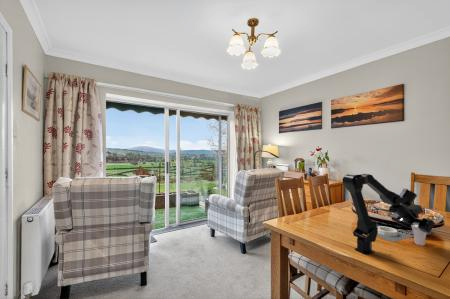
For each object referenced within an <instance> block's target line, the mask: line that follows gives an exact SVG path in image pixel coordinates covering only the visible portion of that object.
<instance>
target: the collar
mask: <svg viewBox="0 0 450 299" xmlns="http://www.w3.org/2000/svg"><path fill="white" fill-rule="evenodd" d="M377 227H378V229H377V230H378V233H379V234H381V235H384V236H391V237H395V236H397V231H398V230H397V229H396V228H393V227H389V226H383V225H381V226H380V225H379V226H377Z"/></svg>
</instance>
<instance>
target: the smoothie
mask: <svg viewBox="0 0 450 299" xmlns="http://www.w3.org/2000/svg"><path fill="white" fill-rule="evenodd" d="M417 219H420V218H419V217H418V218H417ZM411 227H412V228H411V229H412V235H413V239H414V244H416V245H417V246H425V244H426V237H427V233H425V232H423V231H421V229H419V228H418V224H412V225H411Z"/></svg>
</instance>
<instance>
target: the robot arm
mask: <svg viewBox="0 0 450 299" xmlns="http://www.w3.org/2000/svg"><path fill="white" fill-rule="evenodd" d="M341 179H342V183H343V185H344V187H345V189H346V190H347V191H348V192H349V194H350V197H351V200H352V202H353V206H354V210H355V213H356V216H357V218H358V219H357V221H356V227H355V229H354V230H353V231H352V234H353V237H356V247H354V250H355V251H356V252H360V253H362V254H363V255H370V254H374V253H376V251H375V250H374V249H373V244H372V243H373V242H374V243H376V241H377V240H376V239H377V238H378V237H377V233H378V230H377V229H378V227H379V226H378V225H377V222H376V220H374V219H371V217H370V214H369V212H368V209H367V206H366V202H365V199H364V195H363V192H362V190H363V187H364V185H367V186H368V187H369V188H370V189H371V190H373V191H374V192H375V193H376V194H378V195H379V199H380V200H381V201H382V202H383V203H384V204H387V205H390V206H389V207H388V212H391V213H393V214H392V215H391V217H390V218H391V221H393V222H396V223H397V224H400V225H402V226H405V227H407V228H410V229H412V227H411V225H414V224H416V225H418V228H419V229H421V231H423V232H425V233H426V235H430V236H431V234H432V229H433V228H434V226H435V225H436V222H435V221H434V220H433V219H430V218H426V217H422V219H420V218H419V217H420V214H421V213H423V212H424V210H423V208H422V206H421V204H416V203H413V202H414V201H415V199H416V198H417V197H418V195H417V193H415V192H413V191H412V190H409V189H408V188H403V189H402V190H401V192H400V194H398V193H396V192H393V191H391V190H389V189H388V188H386V187H385V186H384V185H383V184H382V183H380V182H379V181H378V180H377V179H376V178H375V177H374V175H372V174H370V173H369V174H368V173H360V174H345V175H344V176H343V177H342V178H341ZM418 218H419V219H418Z"/></svg>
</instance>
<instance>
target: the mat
mask: <svg viewBox="0 0 450 299" xmlns="http://www.w3.org/2000/svg"><path fill="white" fill-rule="evenodd" d="M402 232H403V231H400V232H397V236H395V237H391V236H384V235H381V234H379V233H377V237H376V238H381V239H383V240H386V241H389V242H392V243H395V242H398V241H399V242H400V241H403V240H406V239H411V238H414V235H413V234H409V233H407V234H406V232H403V233H402Z"/></svg>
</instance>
